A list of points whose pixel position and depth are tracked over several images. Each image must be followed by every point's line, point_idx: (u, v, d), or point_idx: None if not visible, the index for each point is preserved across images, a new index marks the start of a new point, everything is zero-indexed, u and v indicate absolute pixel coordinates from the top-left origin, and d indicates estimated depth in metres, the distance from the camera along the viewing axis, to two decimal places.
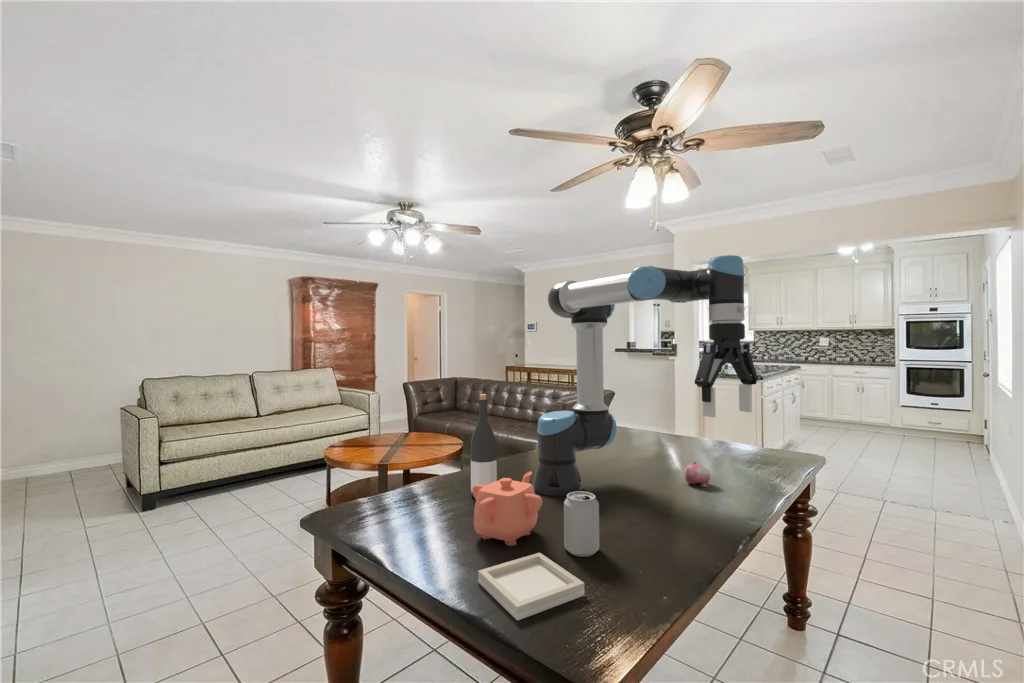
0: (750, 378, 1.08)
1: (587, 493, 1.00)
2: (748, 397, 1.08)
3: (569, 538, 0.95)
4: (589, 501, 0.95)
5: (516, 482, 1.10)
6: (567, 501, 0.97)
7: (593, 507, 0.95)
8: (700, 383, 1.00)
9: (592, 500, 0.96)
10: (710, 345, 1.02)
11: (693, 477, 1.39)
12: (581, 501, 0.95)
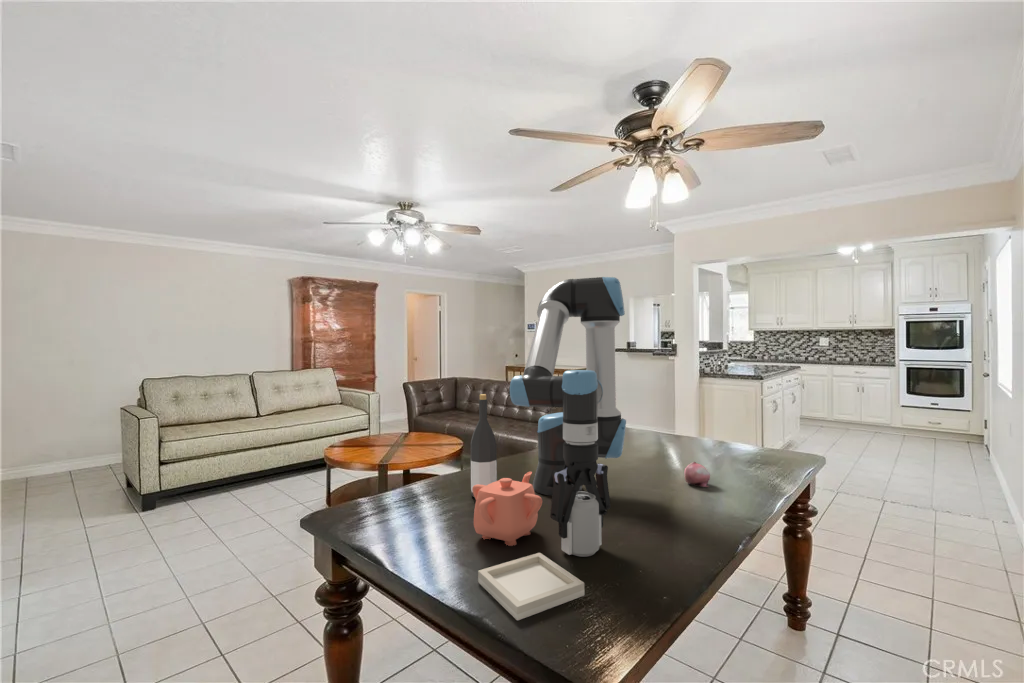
0: (601, 507, 0.99)
1: (587, 493, 1.00)
2: None
3: None
4: (589, 501, 0.95)
5: (516, 482, 1.10)
6: None
7: (593, 507, 0.95)
8: (555, 520, 0.94)
9: (592, 500, 0.96)
10: (557, 476, 0.94)
11: (693, 477, 1.39)
12: (581, 501, 0.95)
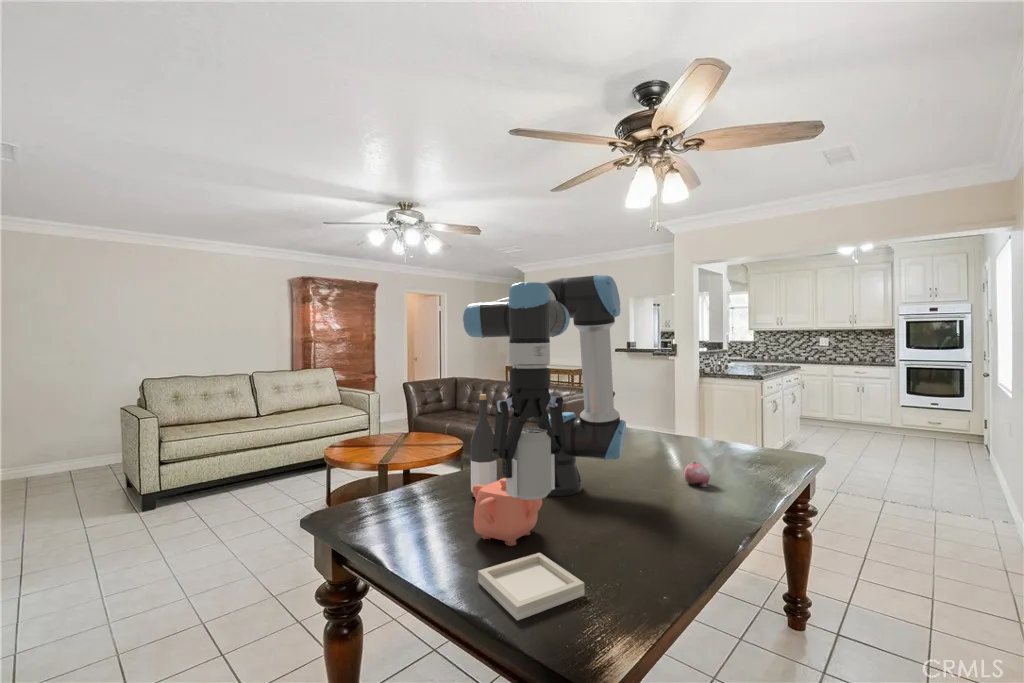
0: (554, 445, 0.85)
1: (539, 429, 0.85)
2: None
3: None
4: (538, 434, 0.81)
5: None
6: None
7: (543, 441, 0.80)
8: (497, 456, 0.79)
9: (542, 434, 0.81)
10: (499, 404, 0.79)
11: (693, 477, 1.39)
12: (529, 434, 0.80)
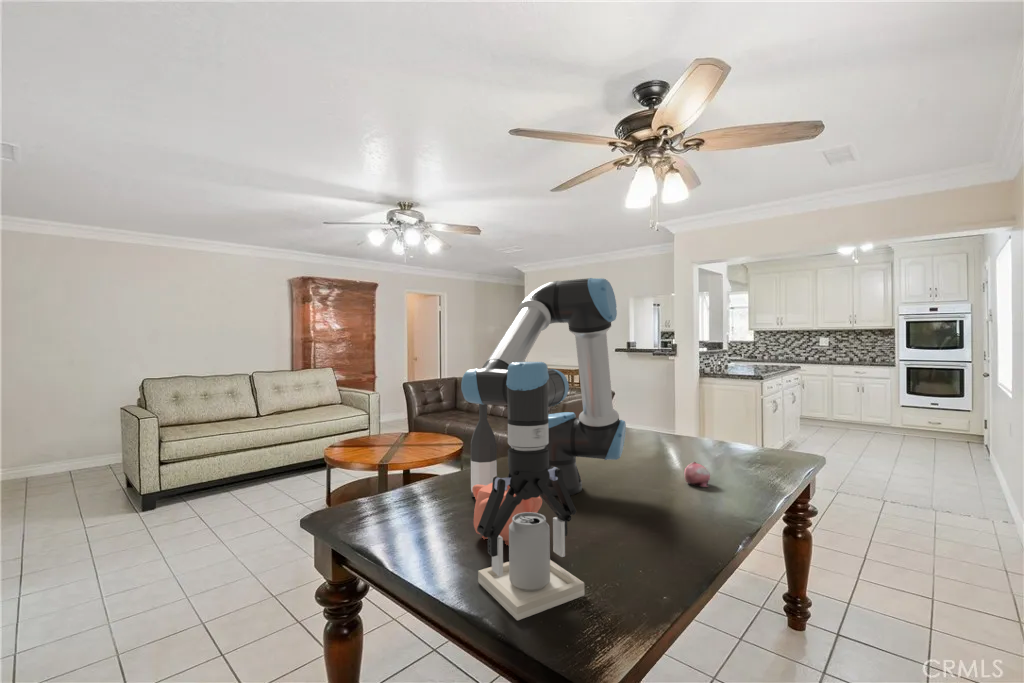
0: (563, 513, 0.85)
1: (537, 515, 0.85)
2: (560, 537, 0.85)
3: (513, 569, 0.80)
4: (537, 525, 0.80)
5: None
6: (512, 525, 0.82)
7: (542, 532, 0.80)
8: (481, 534, 0.77)
9: (541, 524, 0.81)
10: (497, 481, 0.79)
11: (693, 477, 1.39)
12: (527, 526, 0.80)
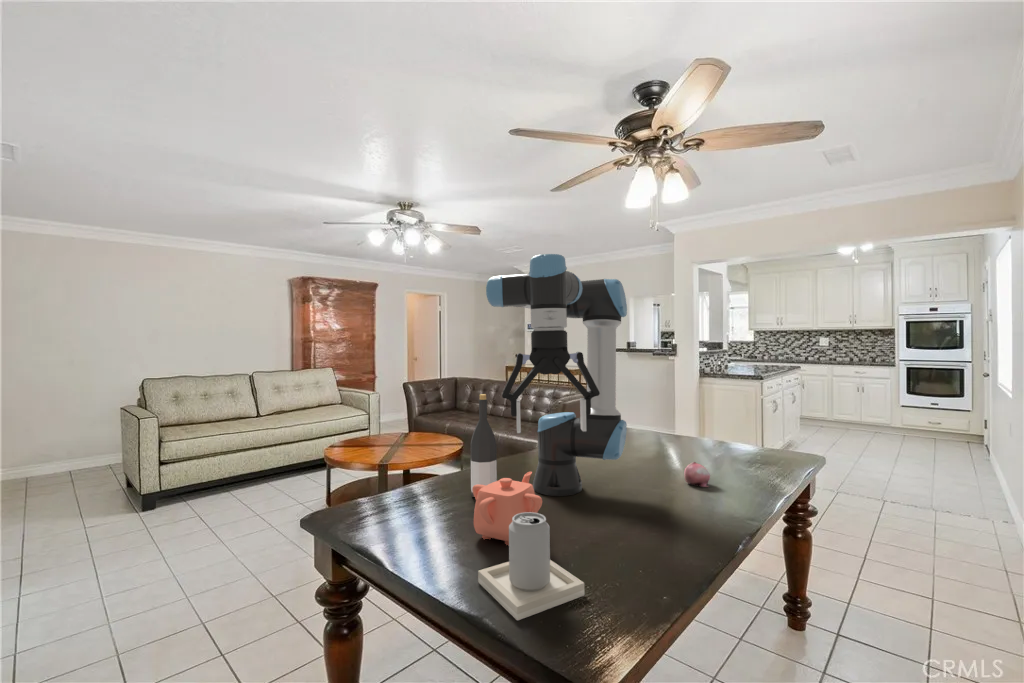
0: (585, 392, 0.94)
1: (537, 515, 0.85)
2: (582, 414, 0.94)
3: (513, 569, 0.80)
4: (537, 525, 0.80)
5: (516, 482, 1.10)
6: (512, 525, 0.82)
7: (542, 532, 0.80)
8: None
9: (541, 524, 0.81)
10: (517, 355, 0.94)
11: (693, 477, 1.39)
12: (527, 526, 0.80)
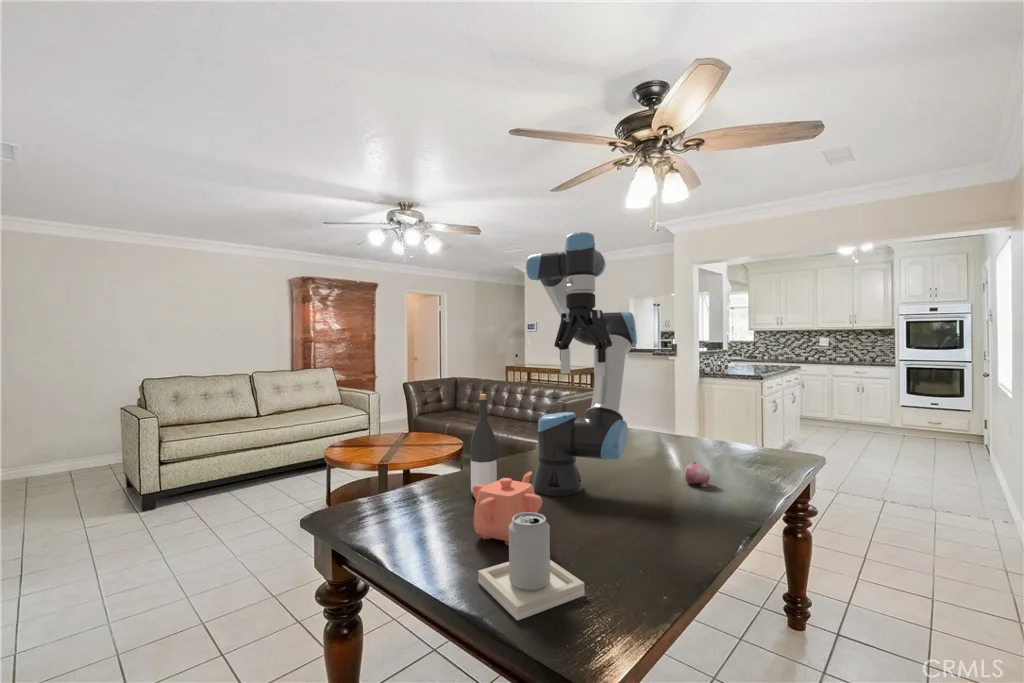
0: (596, 343, 1.11)
1: (537, 515, 0.85)
2: None
3: (513, 569, 0.80)
4: (537, 525, 0.80)
5: (516, 482, 1.10)
6: (512, 525, 0.82)
7: (542, 532, 0.80)
8: None
9: (541, 524, 0.81)
10: None
11: (693, 477, 1.39)
12: (527, 526, 0.80)
